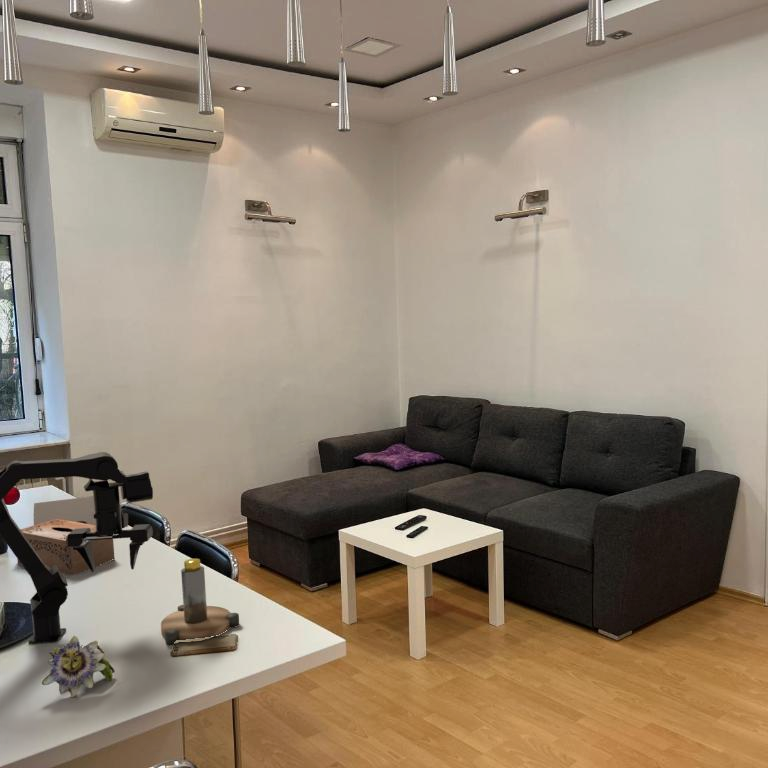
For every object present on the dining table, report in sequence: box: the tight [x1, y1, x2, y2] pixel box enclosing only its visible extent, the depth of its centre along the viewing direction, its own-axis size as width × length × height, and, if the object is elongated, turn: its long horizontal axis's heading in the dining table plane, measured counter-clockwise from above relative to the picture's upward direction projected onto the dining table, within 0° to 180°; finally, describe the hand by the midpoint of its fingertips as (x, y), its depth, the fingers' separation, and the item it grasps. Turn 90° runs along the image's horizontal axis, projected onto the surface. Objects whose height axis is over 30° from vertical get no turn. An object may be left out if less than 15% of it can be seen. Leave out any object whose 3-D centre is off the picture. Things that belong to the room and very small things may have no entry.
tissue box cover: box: [16, 519, 116, 576], centre depth 233 cm, size 26×14×10 cm, turn 60°
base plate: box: [160, 604, 240, 646], centre depth 181 cm, size 17×18×2 cm
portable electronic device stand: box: [33, 495, 96, 526], centre depth 260 cm, size 23×23×9 cm
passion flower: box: [41, 635, 115, 698], centre depth 155 cm, size 11×11×12 cm
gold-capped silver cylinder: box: [180, 558, 208, 624], centre depth 180 cm, size 5×5×14 cm
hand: (113, 570), depth 184 cm, fingers open, 9 cm apart
